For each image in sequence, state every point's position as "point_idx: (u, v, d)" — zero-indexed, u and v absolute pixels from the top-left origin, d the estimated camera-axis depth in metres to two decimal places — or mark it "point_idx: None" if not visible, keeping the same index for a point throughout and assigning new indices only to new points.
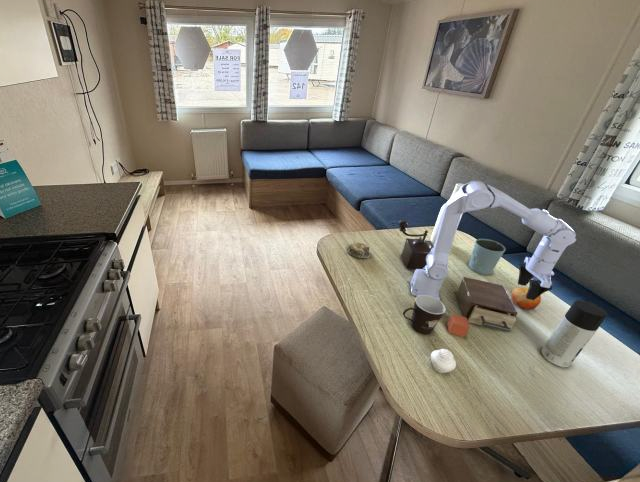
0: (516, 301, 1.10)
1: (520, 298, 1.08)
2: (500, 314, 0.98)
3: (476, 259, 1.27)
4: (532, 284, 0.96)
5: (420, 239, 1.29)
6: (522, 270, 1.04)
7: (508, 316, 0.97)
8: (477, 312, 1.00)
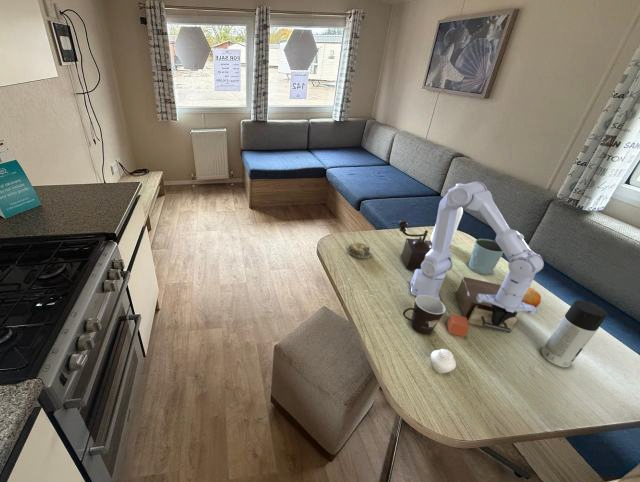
0: None
1: None
2: None
3: (476, 259, 1.27)
4: None
5: (420, 239, 1.29)
6: None
7: None
8: (477, 313, 0.99)
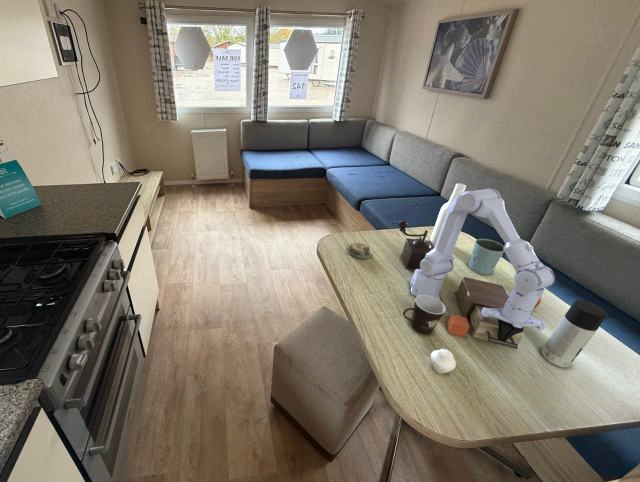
0: None
1: None
2: None
3: (476, 259, 1.27)
4: None
5: (420, 239, 1.29)
6: None
7: None
8: (482, 327, 0.94)
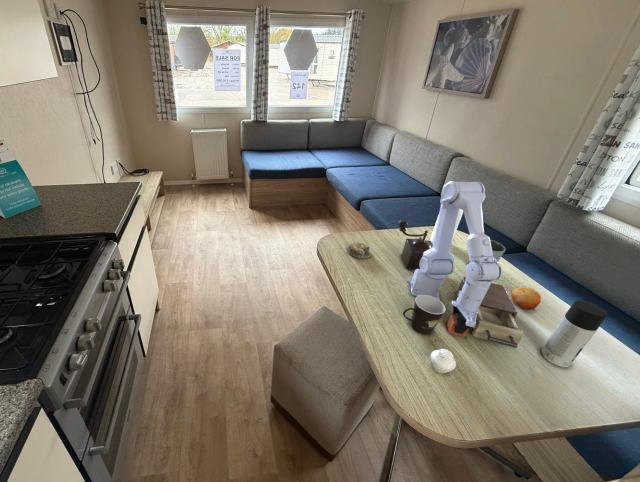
0: (516, 301, 1.10)
1: (520, 298, 1.08)
2: (506, 328, 0.92)
3: None
4: None
5: (420, 239, 1.29)
6: None
7: (515, 330, 0.92)
8: (482, 326, 0.94)
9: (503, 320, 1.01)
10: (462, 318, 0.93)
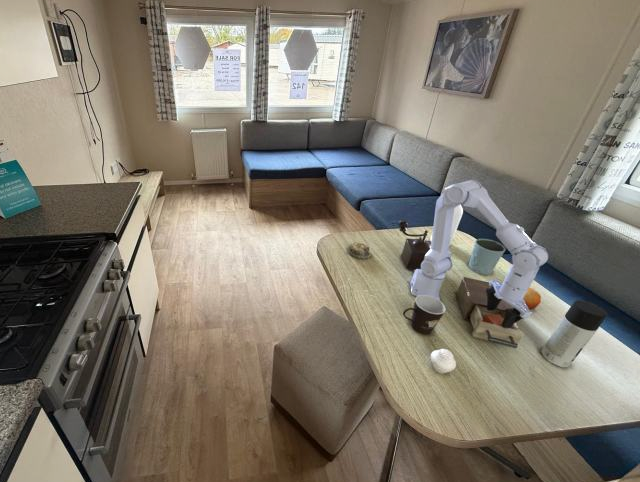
0: None
1: None
2: (507, 329, 0.92)
3: (476, 259, 1.27)
4: None
5: (420, 239, 1.29)
6: None
7: (515, 331, 0.92)
8: (482, 327, 0.94)
9: None
10: (515, 313, 0.88)
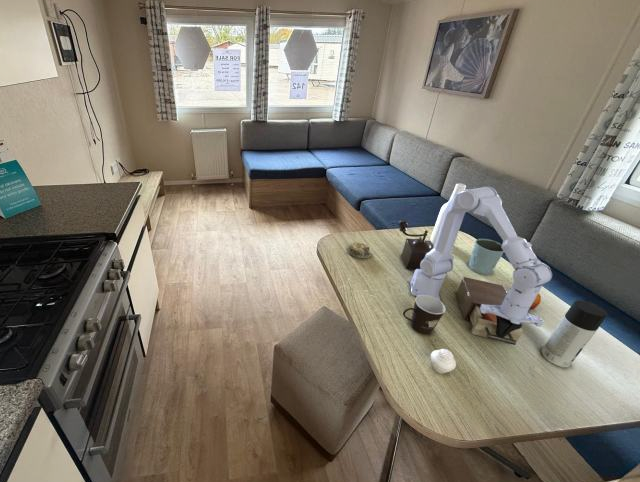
0: None
1: None
2: None
3: (476, 259, 1.27)
4: None
5: (420, 239, 1.29)
6: None
7: None
8: (481, 324, 0.95)
9: None
10: None
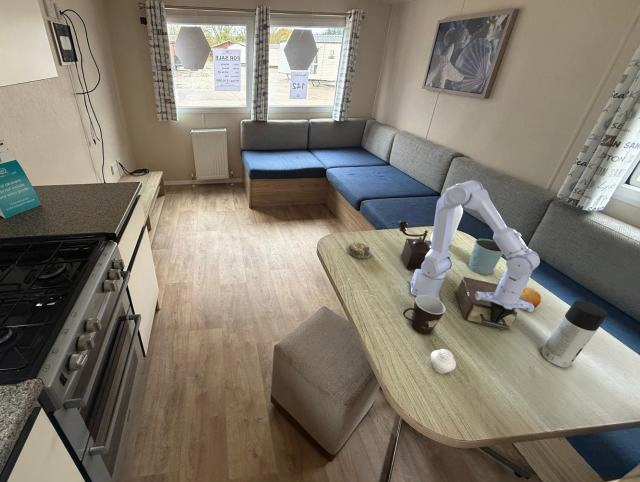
0: None
1: (520, 298, 1.08)
2: None
3: (476, 259, 1.27)
4: None
5: (420, 239, 1.29)
6: None
7: None
8: (476, 310, 1.01)
9: None
10: (510, 308, 0.94)
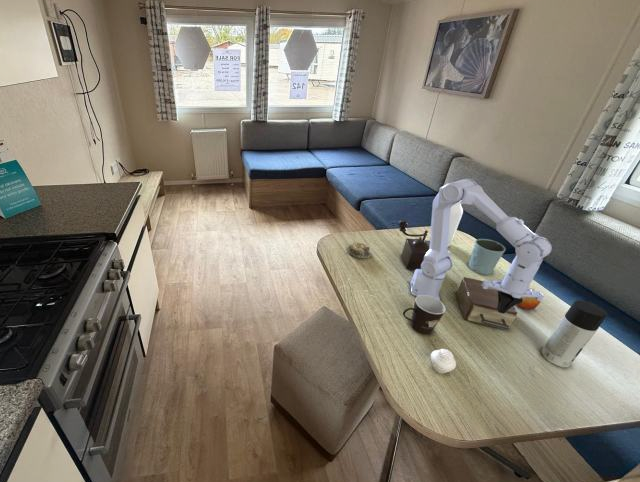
0: None
1: None
2: None
3: (476, 259, 1.27)
4: None
5: (420, 239, 1.29)
6: None
7: (507, 314, 0.98)
8: (476, 310, 1.01)
9: None
10: (519, 297, 0.90)
